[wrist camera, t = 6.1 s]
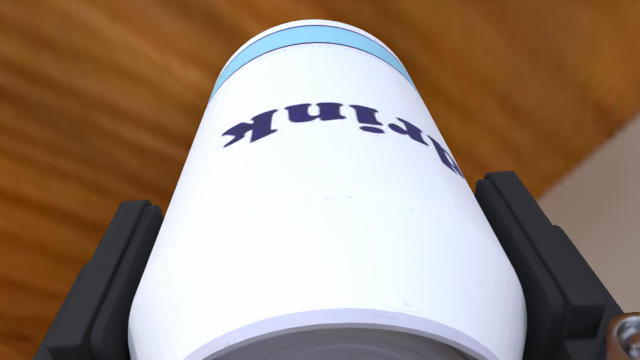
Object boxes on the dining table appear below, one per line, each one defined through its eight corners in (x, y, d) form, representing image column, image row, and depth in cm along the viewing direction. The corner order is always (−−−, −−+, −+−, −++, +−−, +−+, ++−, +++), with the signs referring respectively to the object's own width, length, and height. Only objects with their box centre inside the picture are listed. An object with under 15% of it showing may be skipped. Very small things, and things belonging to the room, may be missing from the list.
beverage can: (435, 30, 16) (676, 309, 6) (384, 203, 20) (478, 561, 9) (220, -7, 15) (66, 247, 5) (208, 181, 19) (104, 550, 9)
